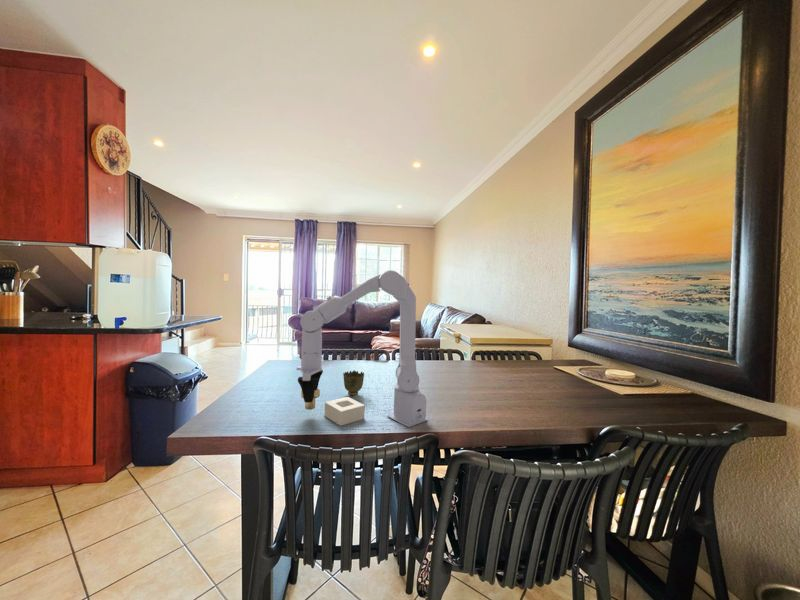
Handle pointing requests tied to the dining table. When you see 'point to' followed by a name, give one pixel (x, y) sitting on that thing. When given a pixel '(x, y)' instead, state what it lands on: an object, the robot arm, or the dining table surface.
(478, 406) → the dining table surface
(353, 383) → the cup
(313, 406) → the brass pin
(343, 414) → the block
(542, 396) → the dining table surface
